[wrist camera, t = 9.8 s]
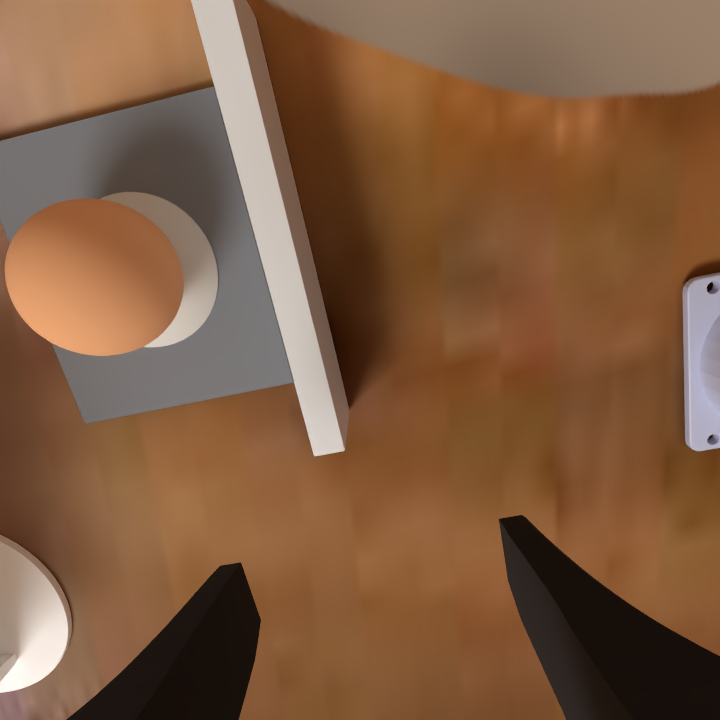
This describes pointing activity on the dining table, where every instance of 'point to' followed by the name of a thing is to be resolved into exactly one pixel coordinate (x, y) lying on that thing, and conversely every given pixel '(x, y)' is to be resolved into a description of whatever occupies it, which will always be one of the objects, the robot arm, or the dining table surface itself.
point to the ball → (94, 277)
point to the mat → (184, 230)
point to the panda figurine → (29, 618)
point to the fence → (275, 213)
